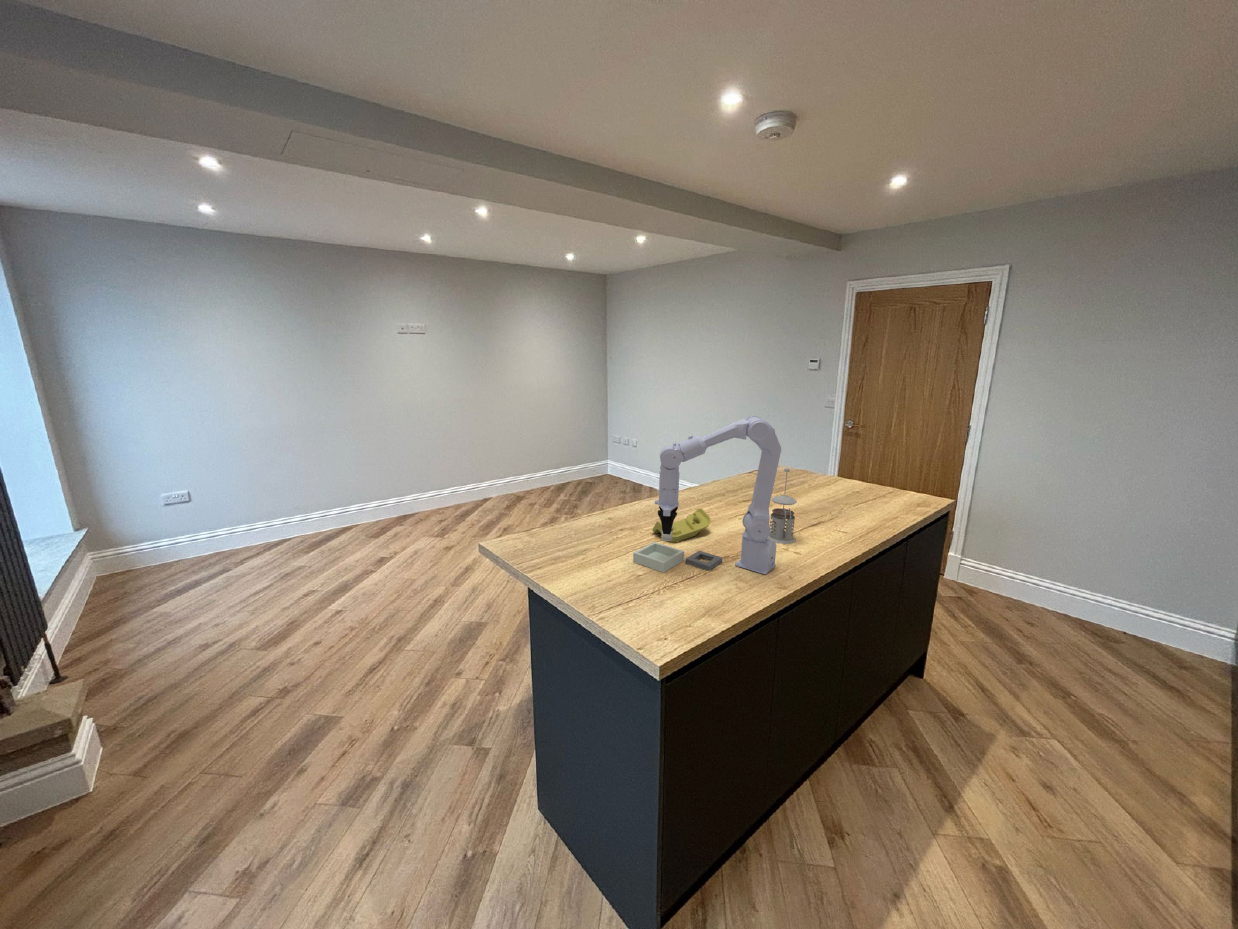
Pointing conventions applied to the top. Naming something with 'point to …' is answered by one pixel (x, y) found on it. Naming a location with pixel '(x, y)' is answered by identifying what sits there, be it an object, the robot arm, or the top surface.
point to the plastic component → (687, 525)
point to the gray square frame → (696, 562)
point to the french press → (782, 519)
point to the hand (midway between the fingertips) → (667, 531)
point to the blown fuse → (667, 536)
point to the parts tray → (658, 556)
